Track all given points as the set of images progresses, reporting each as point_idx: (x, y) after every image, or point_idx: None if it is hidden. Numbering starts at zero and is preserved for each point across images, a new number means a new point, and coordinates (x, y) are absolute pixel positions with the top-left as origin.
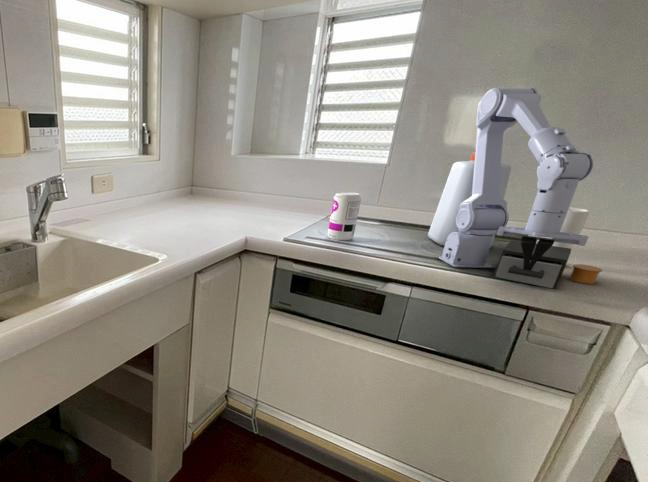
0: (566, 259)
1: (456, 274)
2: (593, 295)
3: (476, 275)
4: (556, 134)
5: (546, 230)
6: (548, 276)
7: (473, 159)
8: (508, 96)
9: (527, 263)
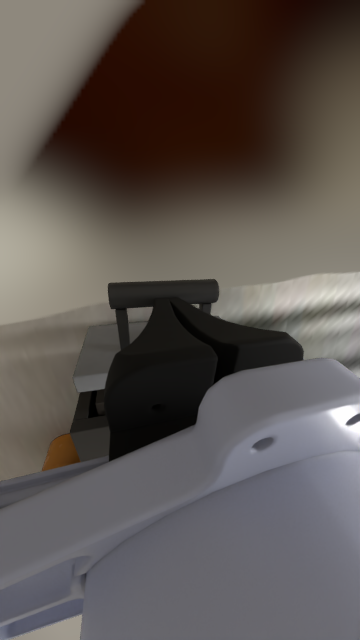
0: (75, 437)
1: (289, 294)
2: (11, 371)
3: (248, 322)
4: None
5: (266, 572)
6: (105, 343)
7: None
8: None
9: (178, 304)
